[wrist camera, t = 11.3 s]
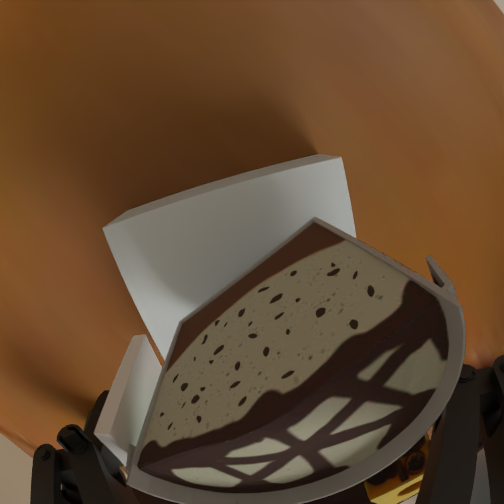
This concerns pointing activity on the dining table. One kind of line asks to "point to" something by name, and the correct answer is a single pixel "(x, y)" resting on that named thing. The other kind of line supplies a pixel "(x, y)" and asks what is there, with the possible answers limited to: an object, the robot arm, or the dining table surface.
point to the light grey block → (219, 234)
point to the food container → (300, 376)
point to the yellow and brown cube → (400, 476)
